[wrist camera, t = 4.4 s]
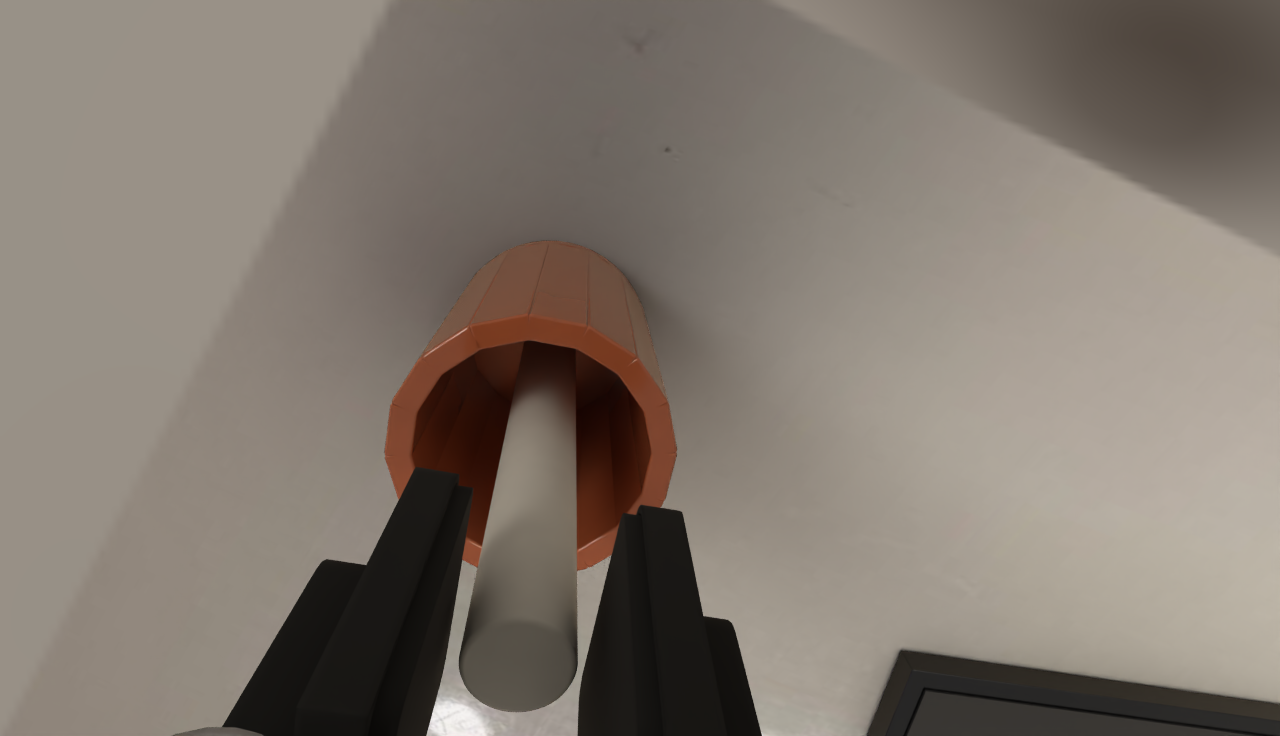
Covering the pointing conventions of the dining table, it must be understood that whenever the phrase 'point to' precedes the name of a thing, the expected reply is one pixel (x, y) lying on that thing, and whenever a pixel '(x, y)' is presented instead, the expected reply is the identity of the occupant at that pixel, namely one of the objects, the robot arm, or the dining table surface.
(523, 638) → the stylus
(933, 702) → the tablet
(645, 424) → the pen cup
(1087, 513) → the dining table surface
